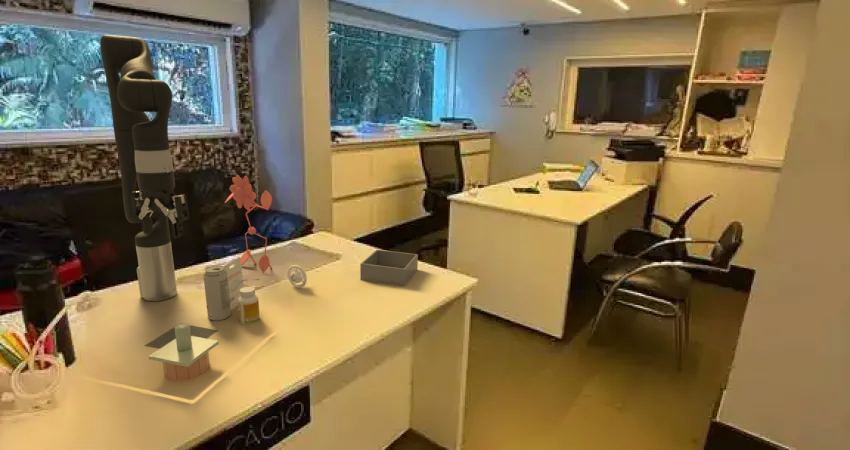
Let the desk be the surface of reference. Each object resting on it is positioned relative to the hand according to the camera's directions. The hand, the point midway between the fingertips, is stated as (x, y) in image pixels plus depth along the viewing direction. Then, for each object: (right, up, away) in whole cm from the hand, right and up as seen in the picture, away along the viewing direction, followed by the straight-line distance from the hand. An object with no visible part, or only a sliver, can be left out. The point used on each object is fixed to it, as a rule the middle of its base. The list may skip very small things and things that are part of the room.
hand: (163, 235), depth 112 cm
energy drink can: (+5, -24, +19) cm, 31 cm away
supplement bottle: (+14, -25, +18) cm, 34 cm away
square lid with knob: (+9, -26, -7) cm, 29 cm away
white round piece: (+22, -18, +42) cm, 51 cm away
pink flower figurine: (0, -14, +53) cm, 55 cm away
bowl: (+9, -31, -6) cm, 33 cm away
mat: (+1, -27, +7) cm, 28 cm away
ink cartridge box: (+5, -22, +26) cm, 35 cm away
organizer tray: (+51, -15, +55) cm, 76 cm away
